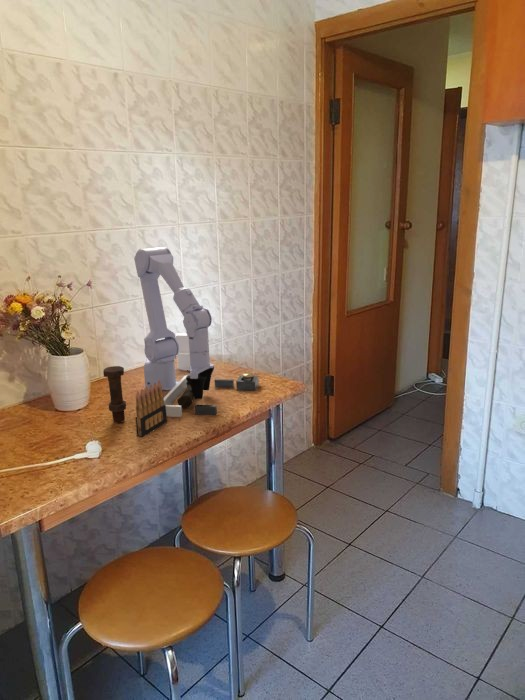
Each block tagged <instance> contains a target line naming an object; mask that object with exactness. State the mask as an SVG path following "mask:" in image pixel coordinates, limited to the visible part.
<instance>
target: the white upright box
mask: <svg viewBox="0 0 525 700" xmlns="http://www.w3.org/2000/svg"><path fill="white" fill-rule="evenodd" d="M175 338H176V340H177V342H178V344H179V353H178V354H177V355H176V359H177V369H178V370H180V371H187V370H188V371H191V370H190V352H189V337H188V336H187V334H186V332H185V333H182V332H181V333H175Z"/></svg>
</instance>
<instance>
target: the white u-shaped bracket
mask: <svg viewBox="0 0 525 700" xmlns="http://www.w3.org/2000/svg"><path fill="white" fill-rule="evenodd" d="M188 375H189V374H184V376H183V377H182V378H181V379H180V380H178V381H179V382H178V383H177V385H176V386H175V387H174V388H173V389H172V390H169V391H168V392H167V394H166V395H164V396H163V397H164V405H166V415H167V418H168V417H170V418H171V417H172V418H181V417H183V409H182V406H181V405H178V404H175V405H174V404H173V403H174V401H175V400H177V399H178V397H179V396H180V395H182V393H183V392H184V391H185V389H186V388H187V384H186V383H187V379H186V377H187V376H188Z"/></svg>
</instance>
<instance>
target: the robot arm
mask: <svg viewBox="0 0 525 700" xmlns="http://www.w3.org/2000/svg"><path fill="white" fill-rule="evenodd" d="M133 259H134V265H135V268H136V275H137V277H138V278H139V281H140V286H141V291H142V296H143V300H144V306H145V309H146V311H145V312H146V316H147V321H148V327H149V330H150V331H149V332H148V334H147V335H146V336H145V338H143V341H144V355H145V358H147V359H146V361H145V362H144V364H143V365H144V366H143V375H144V383H145V384H144V386H145V387H144V390H145V389H146V387H148V390H149V388H150V385H152V387H154V383H156V385H158V381H160V383H161V386H162V391H171V390H172V389H173V388H174V387H175V386H176V385H177V383H178V382H179V381H180V380H177V377H176V376H177V375H176V367H175V366H176V365H175V364H176V363H175V359H177V354H178V353H179V344H178V342H177V340H176V333H174V331H172V330H170V329H168V327H167V322H166V316H165V311H164V306H163V299H162V296H161V290H160V286H159V278H160V276H161V277H162V278H163V281H165V283H166V284H167V285H168V288H169V289H170V290H171V291H172V292H173V297H172V298H173V299H172V300H173V301H174V303H175V304H176V307H177V308H178V310H179V311H180V313H181V315H182V317H183V319H182V323H183V326H184V328H185V333H186V334H187V336H188V337H189V352H190V370H189V374H187V375H188V376H187V377H186V379H187V381H188V383H189V384H190V386H191V388H192V391H193V395H194V398H193V399H195V400H203V398H204V397H203V396H204V391H209V390H210V385H211V379H212V375H213V372H214V369H215V363H211V361H210V359H211V358H210V343H209V329H208V328H209V327H210V326H211V325H212V321H213V319H212V315H211V313H210V310H209V309H208V308H207V307H204V306H203V305H200V303H199V301H198V300H197V298H196V296H195V295H194V294H193V292H192V290H191V289H190V288H189V287H188V288H187V287H185V285H184V283H183V282H182V280H181V278H180V276H179V274H178V272H177V270H176V268H175V266H174V256H173V254H172V252H171V250H170V248H169V247H168V246H162V247H151V248H140V249H138V250H137V252H136V253H135V256H134V258H133Z"/></svg>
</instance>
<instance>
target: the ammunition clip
mask: <svg viewBox="0 0 525 700" xmlns="http://www.w3.org/2000/svg"><path fill="white" fill-rule="evenodd" d="M164 397H165V396H164V393H163V390H162V386H161V383H160V381H158V385H156V383H154V387H152V385H150V388H149V390H148V387H146V389H145V388H144V389H143V388H141V390H140V392H139V391H138V390H137V391H136V395H135V411H136V417H135V429H136V432H135V433H136V437H140V438H144V437H146V436H147V435H148V434H149V435H150V434H151V433H152V432H154V431H155V430H157V429H159V428H160V427H162V426H163V424H164V425H165V424H167V423H168V417H167V415H166V405H164ZM153 430H154V431H153ZM150 432H151V433H150Z"/></svg>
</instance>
